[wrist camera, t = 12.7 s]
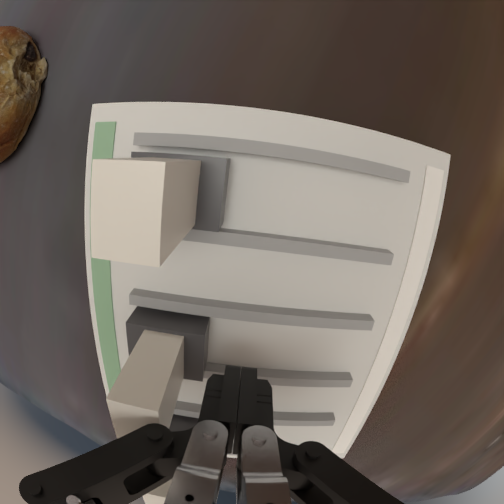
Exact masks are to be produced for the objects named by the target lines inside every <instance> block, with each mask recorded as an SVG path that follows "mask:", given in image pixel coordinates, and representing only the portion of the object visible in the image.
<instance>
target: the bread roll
mask: <svg viewBox="0 0 504 504" xmlns="http://www.w3.org/2000/svg"><path fill="white" fill-rule="evenodd" d="M46 77H47V63H46V60H45V57H44V58H43V59H41V58H40V54H39V51H38V49H37V47H36V45H35V43H34V42H33V41H32V37H31V36H29V35H28V34H27V33H26V32H24V31H23V30H21V29H20V28H17V27H13V26H2V27H0V163H1V162H2V161H3V160H5V159H6V158H7V157H8V156H9V155H11V154H12V153H13V152H14V151H15V150H16V148H17V145H18V144H19V142H20V141H21V139H22V138H23V136H24V135H25V134H26V131H27V128H28V126H29V123H30V121H31V119H32V117H33V115H34V112H35V110H36V108H37V105H38V102H39V98H40V95H41V83H42V82H43V80H44V79H45V78H46Z"/></svg>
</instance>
